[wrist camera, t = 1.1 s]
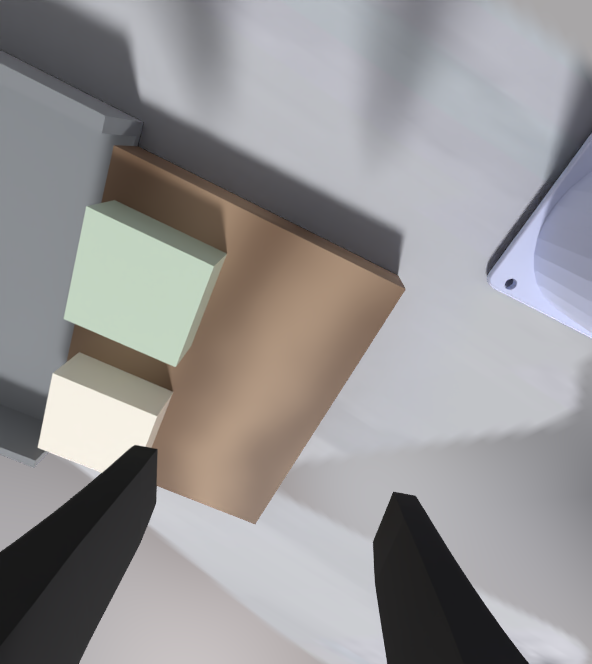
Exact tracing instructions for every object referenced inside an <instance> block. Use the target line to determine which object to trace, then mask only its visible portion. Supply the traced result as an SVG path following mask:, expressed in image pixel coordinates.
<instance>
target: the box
mask: <svg viewBox="0 0 592 664" xmlns="http://www.w3.org/2000/svg"><path fill="white" fill-rule="evenodd" d="M142 126H143V122H142V121H140V120H138V119H136V118H134V117H132V116H130V115H128V114H126V113H124V112H122V111H120V110H118V109H116V108H114V107H112V106H110V105H108V104H106V103H104V102H102V101H100V100H98V99H96V98H94V97H92V96H90V95H88V94H86V93H84V92H82V91H80V90H79V89H77V88H75V87H73V86H71V85H69V84H67V83H65V82H63V81H61V80H59V79H57V78H55V77H53V76H51V75H49V74H47V73H45V72H43V71H41V70H39V69H37V68H35V67H33V66H31V65H29V64H27V63H25V62H23V61H21V60H19V59H17V58H15V57H13V56H11V55H9V54H7V53H5V52H3V51H1V50H0V455H2V456H5V457H7V458H10V459H12V460H15V461H18V462H20V463H23V464H25V465H28V466H31V467H33V468H34V467H35V466H36V465H37V464H38V463H39V462H40V461H41V460H42V459H43V458H44V457H45V456H46V455H47V454H48V453H49V452H47V451H45V450H42V449H40V448H38V444H39V439H40V434H41V429H42V424H43V419H44V414H45V409H46V404H47V399H48V394H49V389H50V384H51V379H52V374H53V373H54V372H55V371H56V370H57V369H59V368H60V367H61V366H62V365H64V364H65V363H66V362H67V358H68V353H69V348H70V344H71V339H72V335H73V330H74V325H75V324H74V323H72V322H70V321H67V320H65V319H64V314H65V309H66V304H67V299H68V295H69V290H70V285H71V280H72V275H73V270H74V265H75V260H76V255H77V250H78V245H79V240H80V235H81V230H82V225H83V220H84V215H85V210H86V206H90V205H94V204H99V203H101V202H102V197H103V192H104V188H105V183H106V179H107V174H108V169H109V165H110V160H111V156H112V151H113V147H114V145H121V146H138V143H139V139H140V134H141V130H142Z"/></svg>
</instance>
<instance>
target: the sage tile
mask: <svg viewBox="0 0 592 664" xmlns="http://www.w3.org/2000/svg"><path fill="white" fill-rule="evenodd" d="M226 255H227V253H225V252H223V251H220V250H218V249H216V248H214V247H212V246H210V245H208V244H206V243H204V242H202V241H199V240H197V239H195V238H193V237H191V236H189V235H187V234H185V233H183V232H181V231H178V230H176V229H174V228H172V227H170V226H168V225H166V224H164V223H162V222H160V221H157V220H155V219H153V218H151V217H149V216H147V215H145V214H143V213H141V212H139V211H136V210H134V209H132V208H130V207H128V206H126V205H124V204H122V203H120V202H118V201H115V200H113V201H108V202H104V203H99V204H94V205H90V206H86V210H85V215H84V220H83V225H82V230H81V235H80V240H79V245H78V250H77V255H76V260H75V265H74V270H73V275H72V280H71V285H70V290H69V295H68V299H67V304H66V309H65V314H64V319H65V320H67V321H70V322H72V323H74V324H77V325H79V326H81V327H84V328H86V329H88V330H90V331H93V332H95V333H97V334H100V335H102V336H104V337H107V338H109V339H111V340H114V341H116V342H118V343H121V344H123V345H125V346H128V347H130V348H132V349H134V350H137V351H139V352H141V353H144V354H146V355H148V356H151V357H153V358H155V359H158V360H160V361H162V362H165V363H167V364H169V365H172V366H174V367H176V366H177V365H178V363H179V362H180V361H181V359H182V358H183V357H184V355H185V354H186V352H187V351H188V350H189V348H190V347H191V345H192V342H193V340H194V337H195V335H196V332H197V330H198V327H199V324H200V322H201V319H202V317H203V314H204V312H205V309H206V306H207V304H208V301H209V299H210V296H211V294H212V291H213V288H214V286H215V283H216V281H217V278H218V276H219V273H220V270H221V268H222V265H223V263H224V260H225V258H226Z"/></svg>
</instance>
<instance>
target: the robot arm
mask: <svg viewBox="0 0 592 664" xmlns="http://www.w3.org/2000/svg"><path fill="white" fill-rule="evenodd" d="M508 279H513V283H512V284H511V285H510V286H508V287H505V282H506V281H507V280H508ZM487 282H488V284H489V285H490V286H492V287H493V288H494V289H496V290H498V291H500V292H502V293H504V294H506V295H508V296H510V297H512V298H514V299H516V300H518V301H519V302H521V303H523V304H525V305H527V306H529V307H531V308H533V309H535V310H537V311H539V312H541V313H543V314H545V315H547V316H549V317H551V318H553V319H555V320H557V321H559V322H561V323H563V324H565V325H567V326H569V327H571V328H572V329H574V330H576V331H578V332H580V333H582V334H584V335H586V336H588V337H590V338H592V133H591V134H590V136H589V137H588V138H587V140H586V141H585V143H584V144H583V145H582V147H581V148H580V149H579V151H578V152H577V153H576V155H575V156H574V158H573V159H572V160H571V162H570V163H569V164H568V166H567V167H566V168H565V170H564V171H563V173H562V174H561V175H560V177H559V178H558V179H557V181H556V182H555V183H554V185H553V186H552V188H551V189H550V190H549V192H548V193H547V194H546V196H545V197H544V198H543V200H542V201H541V203H540V204H539V205H538V207H537V208H536V209H535V211H534V212H533V213H532V215H531V216H530V218H529V219H528V220H527V222H526V223H525V224H524V226H523V227H522V228H521V230H520V231H519V233H518V234H517V235H516V237H515V238H514V239H513V241H512V242H511V243H510V245H509V246H508V248H507V249H506V250H505V252H504V253H503V254H502V256H501V257H500V258H499V260H498V261H497V262H496V264H495V265H494V267H493V268H492V269H491V271H490V272H489V274H488V276H487ZM157 454H158V449H155V448H150V447H144V446H139V445H134V446H132V447H131V448H129V449H128V450H127V451H126V452H125V453H124V454H123V455H122V456H120V457H119V458H118V459H117V460H116V461H115V462H114V463H113V464H111V465H110V466H109V467H108V468H107V469H106V470H105V471H103V472H102V473H101V474H100V475H99V476H98V477H96V478H95V479H94V480H93V481H92V482H91V483H89V484H88V485H87V486H86V487H85V488H83V489H82V490H81V491H80V492H78V493H77V494H76V495H75V496H73V497H72V498H71V499H70V500H69V501H67V502H66V503H65V504H64V505H63V506H61V507H60V508H59V509H58V510H56V511H55V512H54V513H52V514H51V515H50V516H48V517H47V518H46V519H44V520H43V521H42V522H40V523H39V524H38V525H37V526H35V527H34V528H32V529H31V530H30V531H28V532H27V533H26V534H24V535H23V536H22V537H20V538H19V539H18V540H16V541H15V542H14V543H12V544H11V545H9V546H8V547H6V548H5V549H4V550H2V551H1V552H0V664H79V662H80V660H81V658H82V656H83V654H84V651H85V649H86V647H87V645H88V643H89V641H90V639H91V637H92V635H93V633H94V631H95V629H96V628H97V625H98V624H99V622H100V620H101V618H102V616H103V614H104V612H105V610H106V608H107V606H108V604H109V602H110V601H111V599H112V597H113V595H114V593H115V591H116V589H117V587H118V585H119V583H120V581H121V580H122V577H123V576H124V574H125V572H126V570H127V568H128V566H129V564H130V562H131V560H132V558H133V556H134V554H135V552H136V550H137V548H138V547H139V545H140V543H141V540H142V538H143V535H144V533H145V530H146V528H147V525H148V523H149V520H150V518H151V515H152V512H153V510H154V507H155V505H156V489H157ZM373 552H374V573H375V587H376V593H377V600H378V607H379V613H380V620H381V626H382V633H383V639H384V645H385V652H386V658H387V664H529V663H528V662H527V661H526V659H525V658H524V657H523V656H522V654H521V653H520V652H519V650H518V649H517V648H516V646H515V645H514V644H513V643H512V641H511V640H510V639H509V637H508V636H507V634H506V633H505V632H504V630H503V629H502V628H501V626H500V625H499V623H498V622H497V621H496V619H495V618H494V616H493V615H492V614H491V612H490V611H489V609H488V608H487V607H486V605H485V604H484V602H483V601H482V599H481V598H480V596H479V595H478V594H477V592H476V591H475V589H474V588H473V586H472V585H471V583H470V582H469V580H468V579H467V577H466V575H465V574H464V572H463V571H462V570H461V568H460V566H459V565H458V563H457V562H456V560H455V559H454V557H453V556H452V554H451V552H450V551H449V549H448V548H447V546H446V544H445V543H444V541H443V540H442V538H441V536H440V535H439V533H438V532H437V530H436V528H435V527H434V525H433V523H432V522H431V520H430V518H429V517H428V515H427V513H426V512H425V510H424V508H423V507H422V506H421V504H420V502H419V501H418V499H417V497H416V496H413V495H408V494H403V493H397V492H393V494H392V496H391V499H390V502H389V504H388V506H387V509H386V511H385V514H384V516H383V519H382V521H381V524H380V526H379V529H378V531H377V533H376V536H375V538H374V541H373Z"/></svg>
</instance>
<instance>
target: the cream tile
mask: <svg viewBox="0 0 592 664" xmlns="http://www.w3.org/2000/svg"><path fill="white" fill-rule="evenodd" d="M172 394H173V392H172V391H170V390H167V389H165V388H163V387H160V386H158V385H156V384H153V383H151V382H148V381H146V380H144V379H141V378H139V377H137V376H134V375H132V374H130V373H127V372H125V371H123V370H120V369H118V368H115V367H113V366H111V365H108V364H106V363H104V362H101V361H99V360H97V359H94V358H92V357H89V356H87V355H85V354H82V353H80V352H79V353H78V354H76V355H75V356H74V357H73V358H71V359H70V360H69V361H67V362H66V363H65V364H64V365H62V366H61V367H60V368H59V369H57V370H56V371H55V372H54V373H53V374H52V379H51V384H50V389H49V394H48V399H47V404H46V409H45V414H44V419H43V424H42V429H41V434H40V439H39V444H38V448H40V449H42V450H45V451H47V452H50V453H52V454H55V455H58V456H60V457H63V458H65V459H68V460H70V461H73V462H76V463H78V464H81V465H83V466H86V467H88V468H91V469H94V470H96V471H99V472H101V473H102V472H103V471H105V470H106V469H107V468H108V467H109V466H110V465H111V464H113V463H114V462H115V461H116V460H117V459H118V458H119V457H120V456H122V455H123V454H124V453H125V452H126V451H127V450H128V449H129V448H131V447H132V446H134V445H139V446H144V447H150V448H152V445H153V443H154V440H155V438H156V435H157V432H158V430H159V427H160V425H161V422H162V420H163V417H164V414H165V412H166V409H167V407H168V404H169V402H170V399H171V396H172Z"/></svg>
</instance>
